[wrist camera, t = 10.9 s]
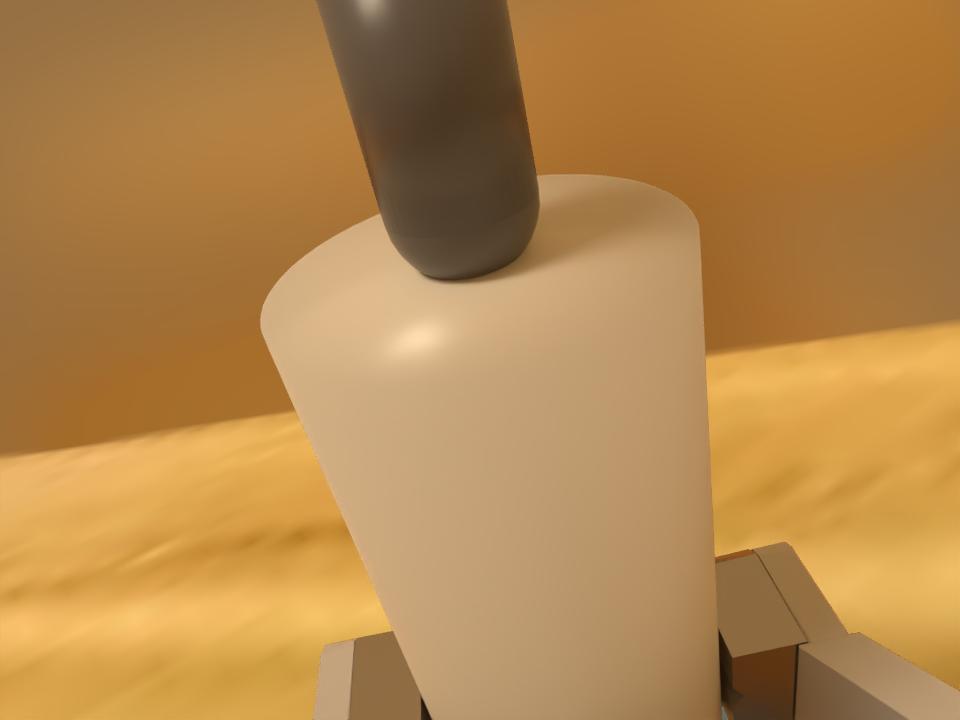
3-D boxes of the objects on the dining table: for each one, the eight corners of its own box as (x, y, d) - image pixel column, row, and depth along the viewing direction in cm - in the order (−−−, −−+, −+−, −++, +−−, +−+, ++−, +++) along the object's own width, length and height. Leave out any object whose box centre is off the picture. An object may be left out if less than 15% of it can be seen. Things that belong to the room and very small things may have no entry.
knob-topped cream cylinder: (543, 1054, 12) (-82, -119, 3) (511, 809, 15) (171, -89, 6) (769, 1007, 12) (809, -349, 3) (687, 771, 15) (591, -196, 6)
